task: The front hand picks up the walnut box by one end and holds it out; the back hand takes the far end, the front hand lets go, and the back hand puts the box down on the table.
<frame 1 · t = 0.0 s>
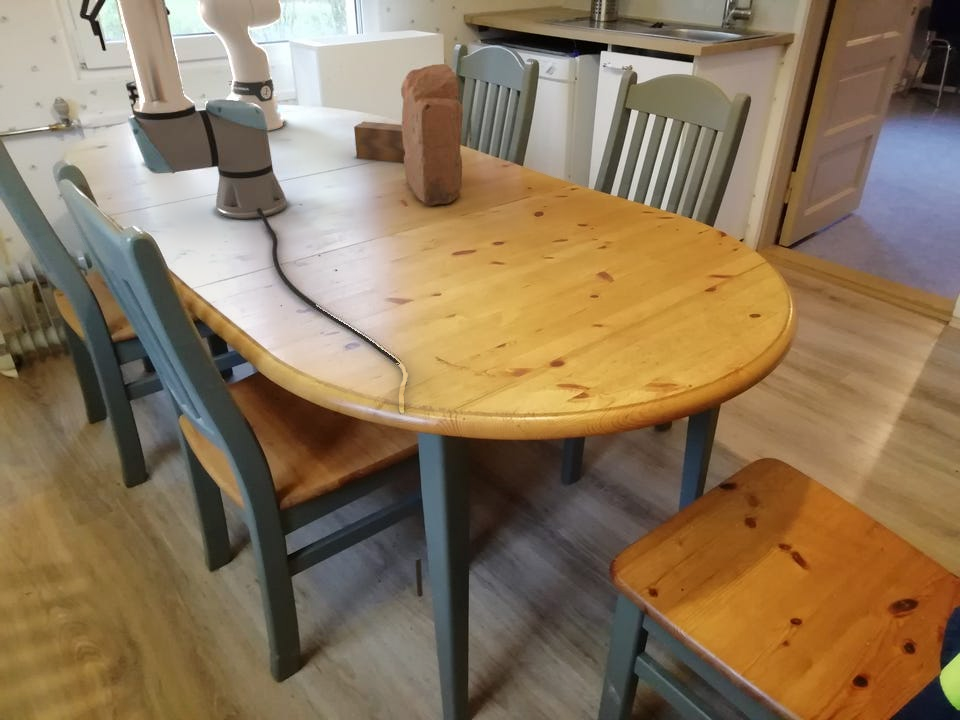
front hand: (133, 48, 174), 28 cm above the table, tool pointing down, fingers open, 13 cm apart
box: (400, 158, 191), on the table
stone: (434, 191, 169), on the table
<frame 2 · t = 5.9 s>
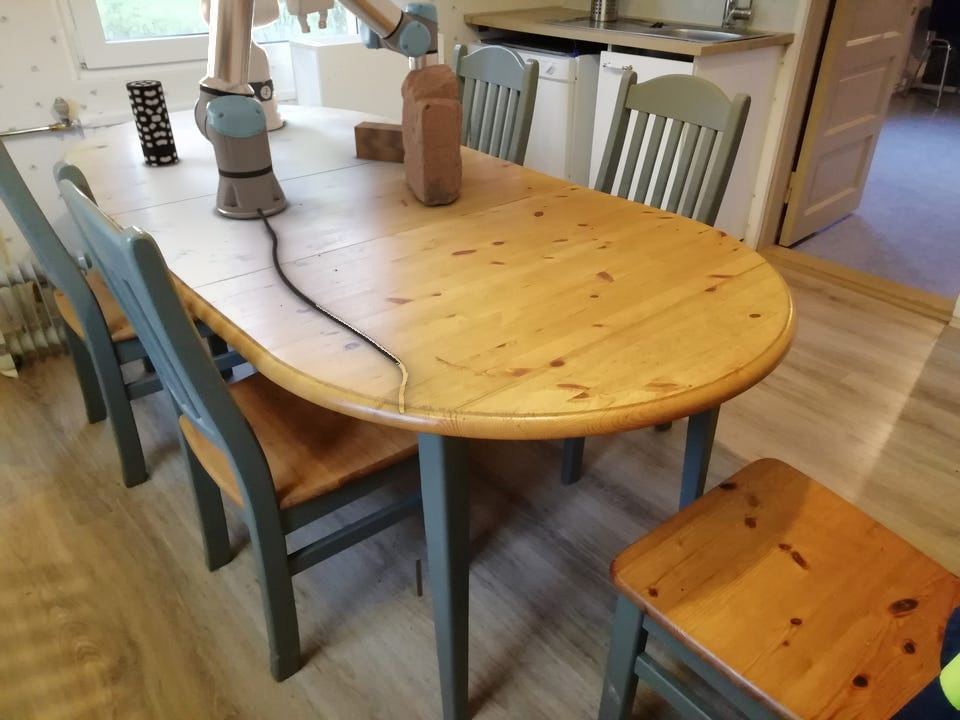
front hand: (426, 159, 189), 1 cm above the table, tool pointing down, fingers closed on box, 6 cm apart
back hand: (314, 30, 187), 30 cm above the table, tool pointing down, fingers open, 8 cm apart
box: (400, 158, 191), on the table, touching front hand
everything else where it was.
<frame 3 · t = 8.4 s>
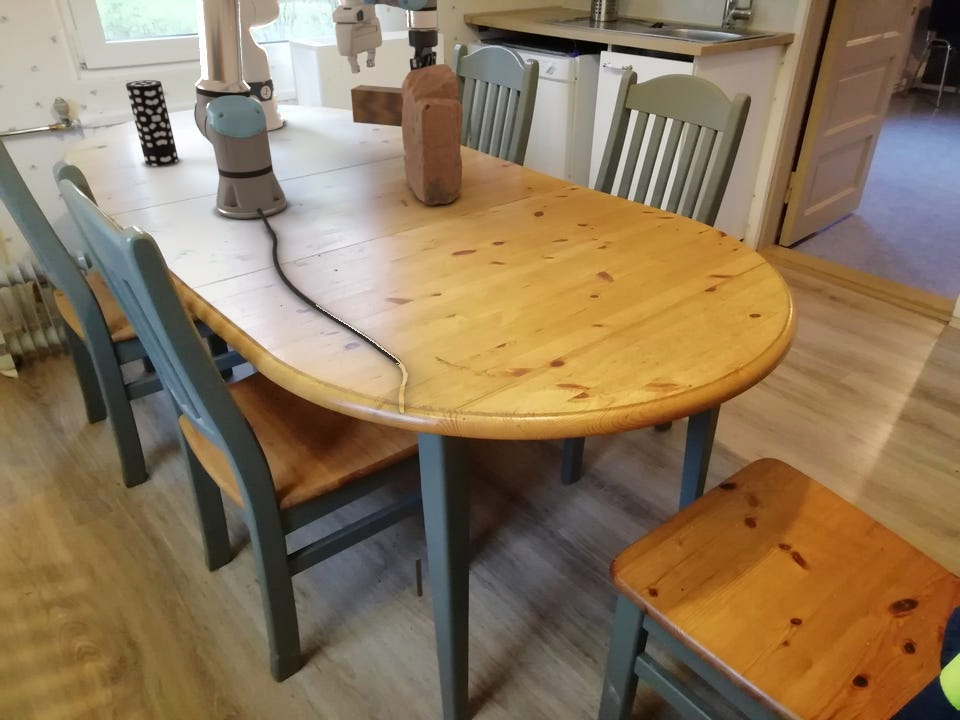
front hand: (425, 123, 184), 10 cm above the table, tool pointing down, fingers closed on box, 6 cm apart
back hand: (363, 69, 182), 22 cm above the table, tool pointing down, fingers open, 8 cm apart
box: (398, 123, 186), point 10 cm above the table, touching front hand
everything else where it was.
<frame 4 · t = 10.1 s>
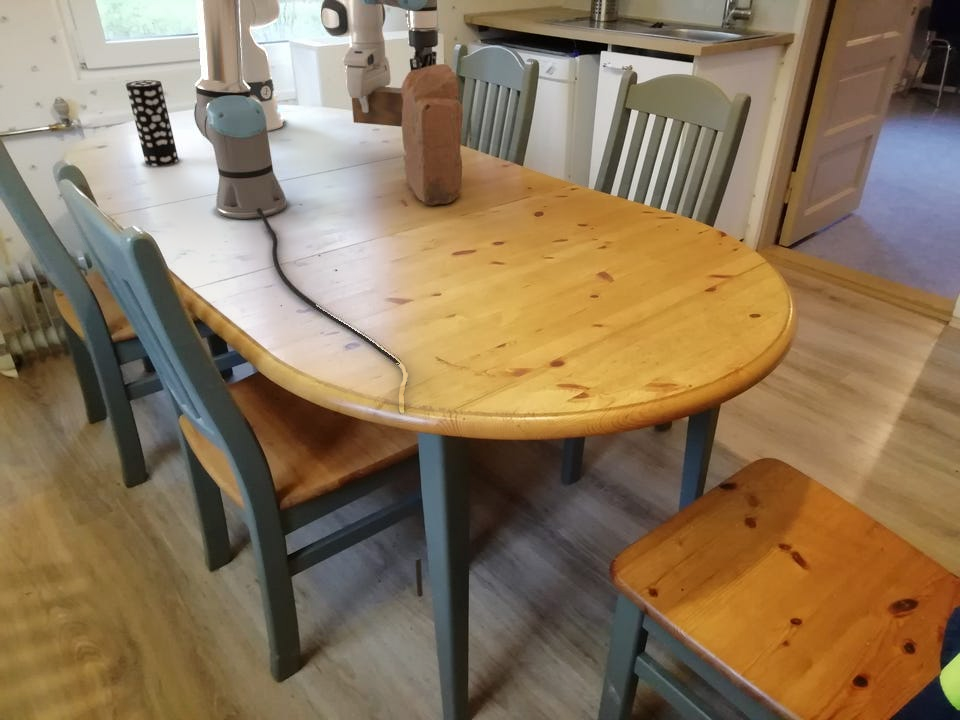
front hand: (425, 123, 184), 10 cm above the table, tool pointing down, fingers closed on box, 6 cm apart
back hand: (372, 108, 186), 13 cm above the table, tool pointing down, fingers closed on box, 6 cm apart
box: (399, 123, 186), point 10 cm above the table, touching front hand, back hand
everything else where it was.
when the front hand's fingers open (10 cm above the table, at t = 11.2 s): box stays where it is, held by the back hand.
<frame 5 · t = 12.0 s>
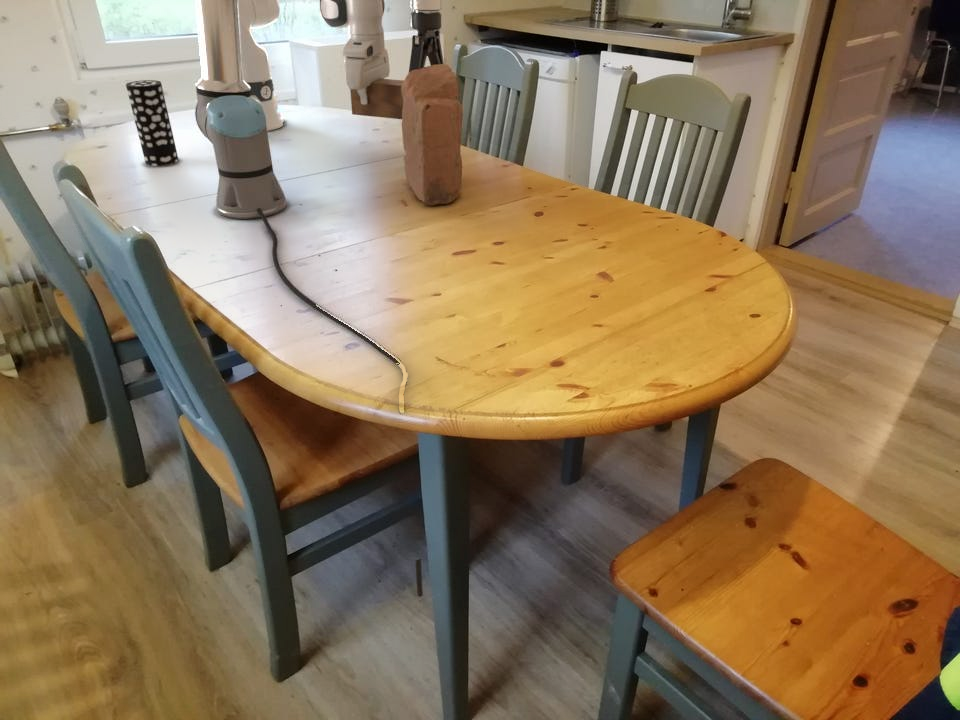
front hand: (427, 101, 181), 16 cm above the table, tool pointing down, fingers open, 13 cm apart
back hand: (370, 100, 185), 15 cm above the table, tool pointing down, fingers closed on box, 6 cm apart
box: (397, 115, 185), point 12 cm above the table, touching back hand
everything else where it was.
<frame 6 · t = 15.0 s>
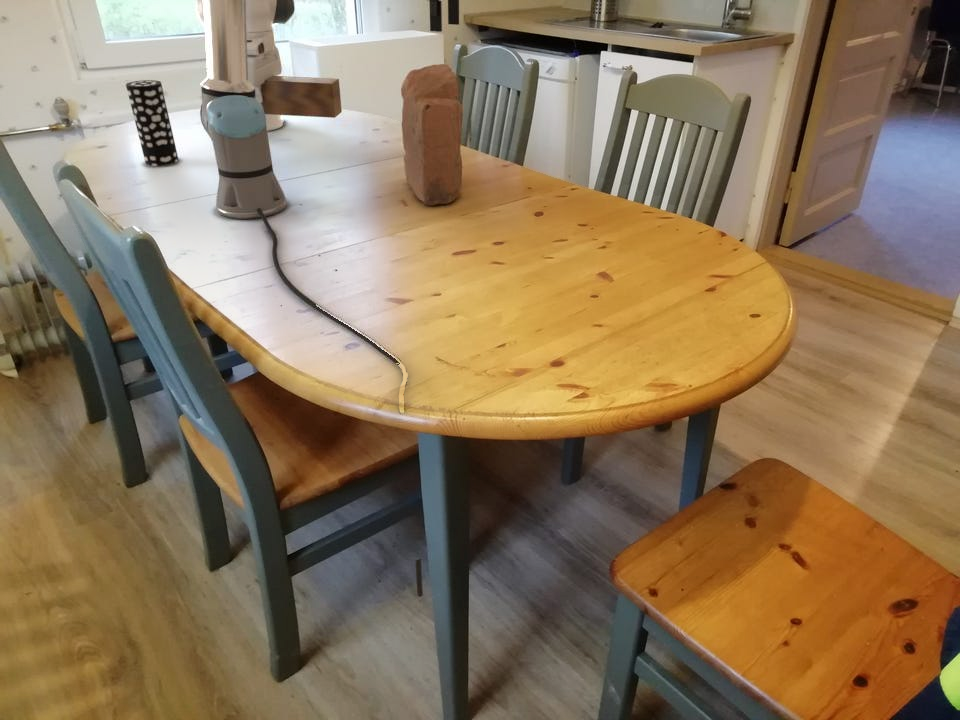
front hand: (445, 27, 170), 34 cm above the table, tool pointing down, fingers open, 13 cm apart
back hand: (265, 98, 183), 15 cm above the table, tool pointing down, fingers closed on box, 6 cm apart
box: (294, 112, 185), point 12 cm above the table, touching back hand
everything else where it was.
when the back hand's fingers open (5 cm above the table, at t = 20.2 s): box drops 2 cm, on the table.
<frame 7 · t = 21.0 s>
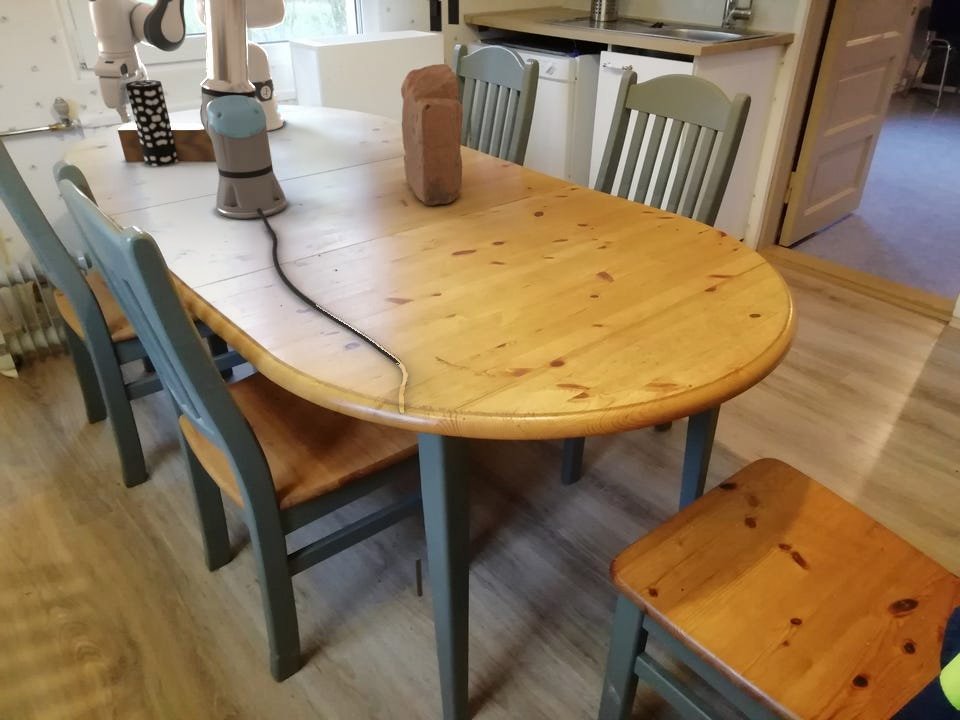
front hand: (445, 27, 170), 34 cm above the table, tool pointing down, fingers open, 13 cm apart
back hand: (134, 117, 185), 11 cm above the table, tool pointing down, fingers open, 8 cm apart
box: (174, 158, 190), on the table
everything else where it was.
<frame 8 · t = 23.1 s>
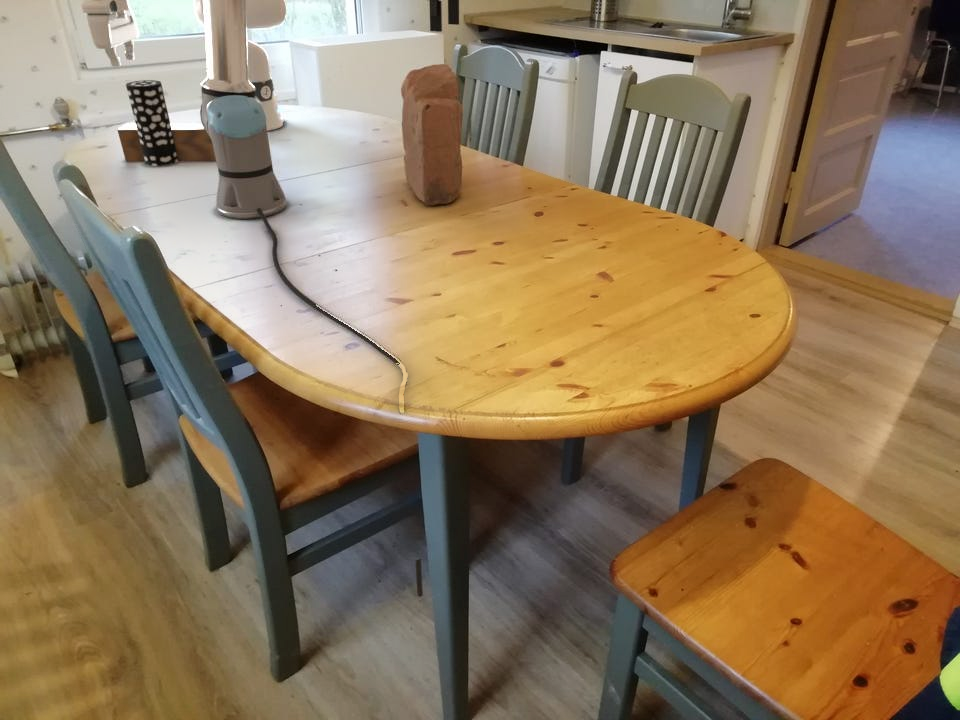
front hand: (445, 27, 170), 34 cm above the table, tool pointing down, fingers open, 13 cm apart
back hand: (124, 62, 176), 25 cm above the table, tool pointing down, fingers open, 8 cm apart
nothing on the table moved.
at the end: box inside the target area (7.2 cm from its centre), on the table; the front hand is holding nothing; the back hand is holding nothing; box at rest at the end (0.0 cm/s) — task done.
